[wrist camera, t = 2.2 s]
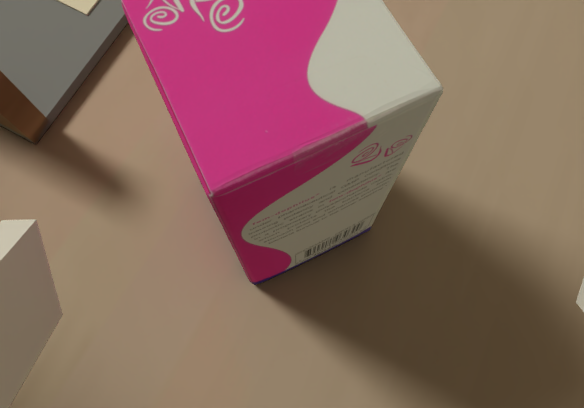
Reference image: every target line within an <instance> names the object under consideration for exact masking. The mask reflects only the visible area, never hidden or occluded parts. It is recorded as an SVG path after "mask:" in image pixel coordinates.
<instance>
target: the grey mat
mask: <svg viewBox="0 0 584 408" xmlns="http://www.w3.org/2000/svg"><path fill="white" fill-rule="evenodd" d="M127 23H128V20H127V18H126V15H125V13H124V10H123V7H122V3H121V0H0V71H1V72H2V73H3V74H4V75H5V76H6V77H7V78H8V79H9V80H10V81H11V82H12V83H13V84H14V85H15V86H16V87H17V88H18V89H19V90H20V91H21V92H22V93H23V94H24V95H25V96H26V97H27V98H28V99H29V100H30V101H31V102H32V104H33V105H34V106H35V107H36V108H37V109H38V110H39V111H40V112H41V113H42V114H43V115H44V116H45V117H46V118H47V119H48V124H47V123H46V122H44V124H45V123H46V126H45V125H43V124H42V125H43V126H44V127H47V128H45V129H44V131H43V130H42V131H43V132H42V133H43V134H44V132H45V131H47V129H48V128H49V125H51V124H52V123H53V121H54V120H55V119H56V117H57V116H58V115H59V113H60V112H61V111H62V109H63V108H64V107H65V105H66V104H67V103H68V101H69V100H70V99H71V97H72V96H73V95H74V93H75V92H76V91H77V89H78V88H79V87H80V85H81V84H82V83H83V81H84V80H85V79H86V77H87V76H88V75H89V73H90V72H91V71H92V70H93V68H94V67H95V66H96V64H97V63H98V62H99V60H100V59H101V58H102V56H103V55H104V54H105V52H106V51H107V50H108V48H109V47H110V46H111V44H112V43H113V42H114V40H115V39H116V38H117V36H118V35H119V34H120V32H121V31H122V30H123V28H124V27H125V26H126V24H127ZM44 121H46V120H45V119H44ZM50 122H51V123H50ZM0 125H1V126H2V127H4V128H6V129H8V130H10V131H11V132H14V133H15V134H17V135H19V136H21V137H23V138H25V139H27V140H28V141H30V142H32V141H31V140H30V139H28V138H27V137H25V136H23V135H21V134H19V133H17V132H15V131H14V130H12V129H10V128H8V127H6V126H4V125H2V124H0ZM41 127H42V126H41ZM42 128H43V127H42ZM40 131H41V130H40ZM40 131H39V132H40ZM43 134H41V133H40V134H39V135H40V136H39V135H38V136H39V137H41V136H43ZM34 136H35V135H34ZM38 136H35V137H38ZM35 137H34V138H35ZM39 137H38V138H39ZM40 139H41V138H39V140H40ZM36 140H37V139H36ZM39 140H38V141H39ZM38 141H37V142H38ZM37 142H36V144H37ZM32 143H33V142H32ZM34 144H35V143H34Z"/></svg>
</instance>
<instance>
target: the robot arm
mask: <svg viewBox="0 0 584 408" xmlns="http://www.w3.org/2000/svg"><path fill="white" fill-rule="evenodd" d="M576 303H577V304H578V306H579V307H580V308H581V309H582V310H583V312H584V278H583V281H582V285H581V288H580V291H579V294H578V297H577V301H576ZM62 315H63V314H62V311H61V307H60V303H59V300H58V296H57V293H56V289H55V285H54V282H53V278H52V274H51V271H50V267H49V264H48V260H47V256H46V253H45V249H44V245H43V242H42V238H41V234H40V231H39V227H38V224H37V220H2V221H1V222H0V408H9V407H10V405H11V403H12V402H13V400H14V398H15V396H16V395H17V393H18V391H19V390H20V388H21V386H22V384H23V383H24V381H25V379H26V377H27V376H28V374H29V372H30V370H31V369H32V367H33V365H34V364H35V362H36V360H37V358H38V357H39V355H40V353H41V351H42V350H43V348H44V346H45V344H46V343H47V341H48V339H49V338H50V336H51V334H52V332H53V331H54V329H55V327H56V325H57V324H58V322H59V320H60V318H61V317H62Z"/></svg>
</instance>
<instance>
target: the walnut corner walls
mask: <svg viewBox="0 0 584 408" xmlns="http://www.w3.org/2000/svg"><path fill="white" fill-rule="evenodd" d="M44 119H45V120H46V121H44ZM44 122H46V123H47V124H48V119H47V118H46V117H45V116H44V115H43V114H42V113H41V112H40V111H39V110H38V109H37V108H36V107H35V106H34V105H33V104H32V102H31V101H30V100H29V99H28V98H27V97H26V96H25V95H24V94H23V93H22V92H21V91H20V90H19V89H18V88H17V87H16V86H15V85H14V84H13V83H12V82H11V81H10V80H9V79H8V78H7V77H6V76H5V75H4V74H3V73H2V72H1V71H0V124H2V125H4V126H6V127H8V128H10V129H12V130H14V131H15V132H17V133H19V134H21V135H23V136H25V137H27V138H28V139H30V140H31V141H32V142H33V143H35V144H36V142H37V141H38V140H39V138H41V137H42V136H41V137H39V136H40V135H39V134H40V133H41V134H43V133H42V132H43V131H44V129H45V128H47V127H44V126H43V125H45V126H46V123H45V124H44ZM50 123H51V122H50ZM42 124H43V125H42ZM0 126H1V125H0ZM41 126H42V127H43V128H42V127H41ZM49 127H50V125H49ZM40 130H41V131H40ZM42 130H43V131H42ZM39 131H40V132H39ZM45 132H46V131H45ZM45 132H44V133H45ZM13 133H14V132H13ZM34 135H35V136H38V135H39V136H38V137H39V138H38V137H35V136H34ZM43 135H44V134H43ZM34 137H35V138H34ZM24 139H25V138H24ZM36 139H37V140H36ZM26 140H27V139H26ZM37 143H38V142H37Z"/></svg>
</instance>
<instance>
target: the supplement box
mask: <svg viewBox="0 0 584 408" xmlns="http://www.w3.org/2000/svg"><path fill="white" fill-rule="evenodd" d="M121 3H122V7H123V10H124V13H125V15H126V18H127V20H128V23H129V25H130V27H131V29H132V31H133V33H134V36H135V38H136V40H137V42H138V44H139V46H140V49H141V51H142V53H143V55H144V58H145V60H146V62H147V64H148V67H149V69H150V71H151V73H152V76H153V78H154V80H155V82H156V85H157V87H158V89H159V91H160V93H161V96H162V98H163V100H164V102H165V104H166V107H167V109H168V111H169V113H170V115H171V118H172V120H173V122H174V124H175V127H176V129H177V131H178V134H179V136H180V138H181V140H182V143H183V145H184V147H185V149H186V151H187V153H188V156H189V158H190V160H191V162H192V164H193V167H194V169H195V171H196V173H197V175H198V177H199V179H200V182H201V184H202V186H203V188H204V190H205V192H206V194H207V197H208V199H209V201H210V203H211V204H212V206H213V208H214V210H215V212H216V214H217V216H218V218H219V220H220V222H221V224H222V226H223V228H224V230H225V232H226V235H227V237H228V239H229V240H230V243H231V244H232V247H233V249H234V250H235V252H236V254H237V257H238V259H239V261H240V263H241V265H242V267H243V269H244V271H245V273H246V275H247V277H248V279H249V281H250V282H251V283H252V284H254V285H256V284H259V283H262V282H265V281H267V280H269V279H271V278H273V277H275V276H278V275H280V274H282V273H284V272H286V271H288V270H290V269H292V268H294V267H297V266H299V265H301V264H303V263H305V262H307V261H309V260H311V259H313V258H315V257H317V256H319V255H321V254H323V253H325V252H328V251H330V250H332V249H334V248H335V247H337V246H339V245H341V244H343V243H345V242H347V241H349V240H351V239H353V238H355V237H357V236H359V235H361V234H363V233H365V232H367V231H369V230H370V229H371V226H372V224H373V222H374V220H375V219H376V216H377V215H378V213H379V211H380V209H381V207H382V205H383V203H384V201H385V199H386V198H387V196H388V194H389V192H390V190H391V188H392V186H393V184H394V182H395V180H396V179H397V177H398V175H399V173H400V171H401V169H402V168H403V166H404V164H405V162H406V160H407V158H408V156H409V155H410V153H411V151H412V149H413V147H414V145H415V143H416V141H417V139H418V137H419V135H420V133H421V132H422V130H423V128H424V126H425V124H426V122H427V121H428V119H429V117H430V115H431V113H432V111H433V109H434V108H435V106H436V104H437V102H438V100H439V98H440V96H441V95H442V93H443V87H442V85H441V84H440V82H439V81H438V79H437V78H436V77H435V75H434V74H433V73H432V71H431V70H430V68H429V67H428V65H427V64H426V63H425V61H424V60H423V58H422V57H421V56H420V54H419V53H418V51H417V50H416V49H415V47H414V46H413V44H412V43H411V41H410V40H409V39H408V37H407V36H406V34H405V33H404V31H403V30H402V29H401V27H400V26H399V24H398V23H397V21H396V20H395V18H394V17H393V16H392V14H391V13H390V11H389V10H388V8H387V7H386V5H385V4H384V2H383V1H382V0H121Z"/></svg>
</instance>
